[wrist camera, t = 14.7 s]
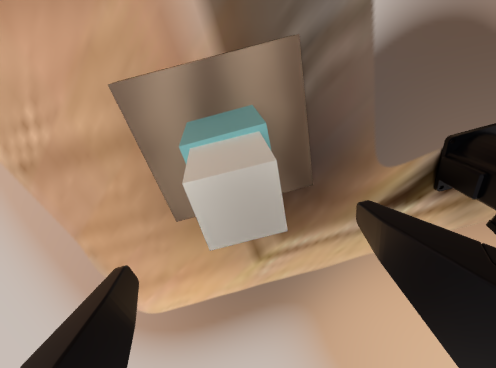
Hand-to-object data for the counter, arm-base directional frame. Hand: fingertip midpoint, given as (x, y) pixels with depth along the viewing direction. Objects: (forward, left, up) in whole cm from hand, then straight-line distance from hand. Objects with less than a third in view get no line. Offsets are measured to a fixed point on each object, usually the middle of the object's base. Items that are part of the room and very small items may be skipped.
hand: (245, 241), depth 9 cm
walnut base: (0, 0, -13) cm, 13 cm away
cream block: (0, 0, -6) cm, 6 cm away
